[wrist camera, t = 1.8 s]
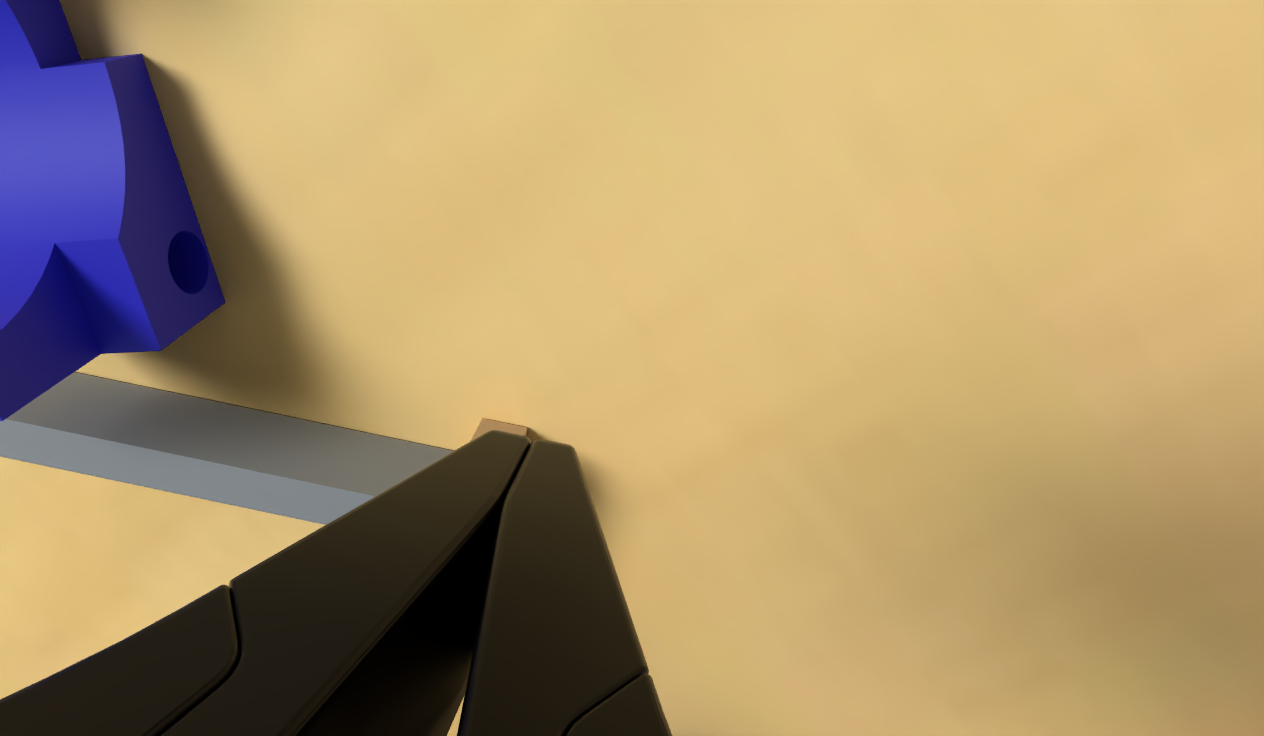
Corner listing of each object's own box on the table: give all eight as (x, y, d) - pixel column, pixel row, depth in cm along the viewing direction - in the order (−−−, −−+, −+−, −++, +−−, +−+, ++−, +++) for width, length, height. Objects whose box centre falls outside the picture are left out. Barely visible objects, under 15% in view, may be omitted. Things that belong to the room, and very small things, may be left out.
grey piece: (512, 534, 24) (490, 595, 22) (-80, 411, 25) (-161, 459, 23) (643, -425, 15) (626, -484, 13) (-335, -609, 15) (-521, -700, 13)
